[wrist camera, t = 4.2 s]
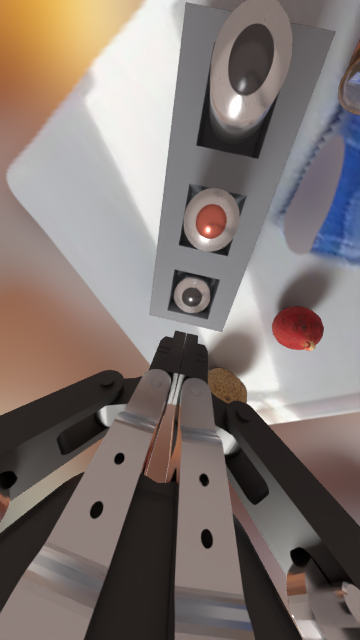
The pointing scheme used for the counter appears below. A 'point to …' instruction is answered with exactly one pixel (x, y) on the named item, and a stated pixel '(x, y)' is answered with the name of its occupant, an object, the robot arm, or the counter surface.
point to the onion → (298, 328)
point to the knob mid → (211, 219)
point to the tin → (351, 85)
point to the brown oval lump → (226, 386)
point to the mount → (224, 165)
